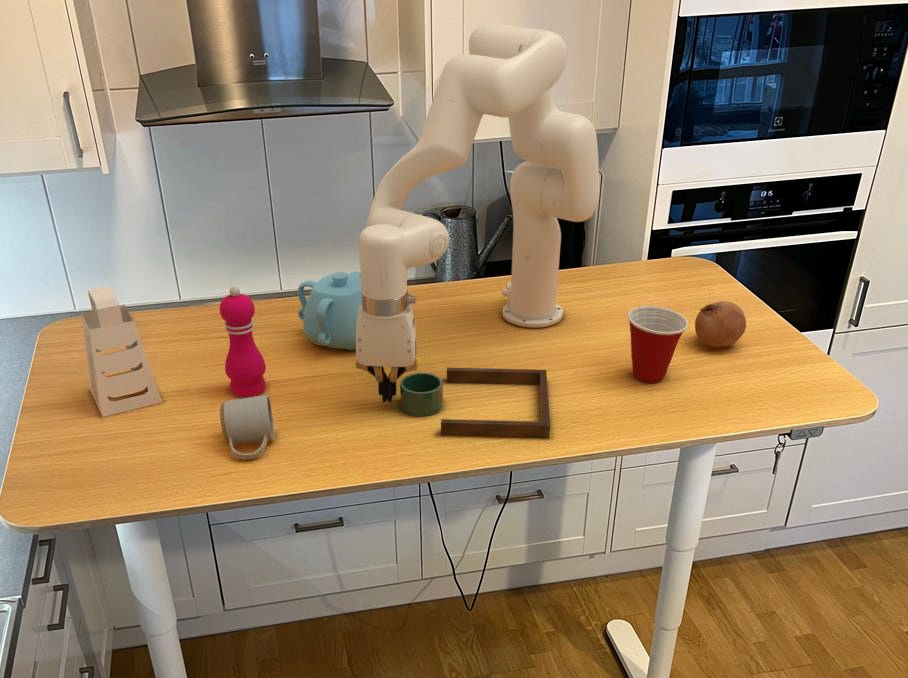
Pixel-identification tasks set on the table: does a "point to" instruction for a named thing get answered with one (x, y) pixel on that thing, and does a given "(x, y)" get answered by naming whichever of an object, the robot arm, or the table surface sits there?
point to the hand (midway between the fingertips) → (387, 398)
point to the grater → (116, 355)
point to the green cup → (421, 394)
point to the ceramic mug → (247, 423)
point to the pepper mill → (242, 346)
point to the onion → (720, 324)
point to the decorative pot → (332, 309)
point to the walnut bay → (493, 426)
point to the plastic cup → (654, 340)
